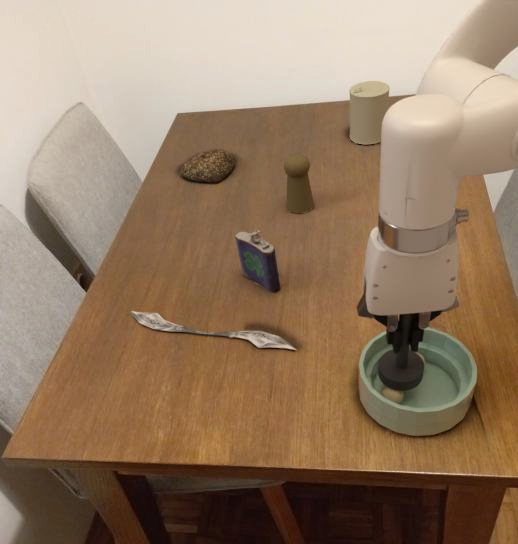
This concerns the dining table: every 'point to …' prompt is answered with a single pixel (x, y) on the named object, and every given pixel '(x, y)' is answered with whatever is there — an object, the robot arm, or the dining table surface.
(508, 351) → the dining table surface
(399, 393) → the dough ball
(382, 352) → the bowl
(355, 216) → the dining table surface
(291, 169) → the olive brown pawn
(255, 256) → the flask
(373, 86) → the can
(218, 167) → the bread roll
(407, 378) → the peg on round base
